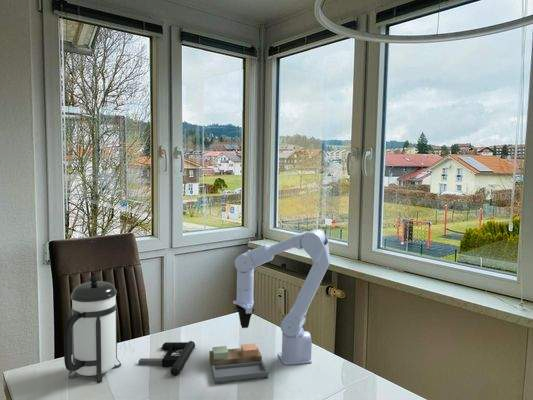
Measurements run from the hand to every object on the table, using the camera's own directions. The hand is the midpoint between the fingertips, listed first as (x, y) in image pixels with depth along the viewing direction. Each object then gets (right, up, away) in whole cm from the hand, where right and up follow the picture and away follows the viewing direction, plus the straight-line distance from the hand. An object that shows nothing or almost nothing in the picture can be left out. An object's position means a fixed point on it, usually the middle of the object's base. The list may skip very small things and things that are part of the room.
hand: (244, 326), depth 141 cm
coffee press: (-45, -9, -17) cm, 49 cm away
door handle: (-25, -9, -7) cm, 27 cm away
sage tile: (-7, -6, -10) cm, 14 cm away
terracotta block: (+2, -6, -8) cm, 10 cm away
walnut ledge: (-3, -9, -8) cm, 12 cm away
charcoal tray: (-1, -10, -16) cm, 18 cm away
